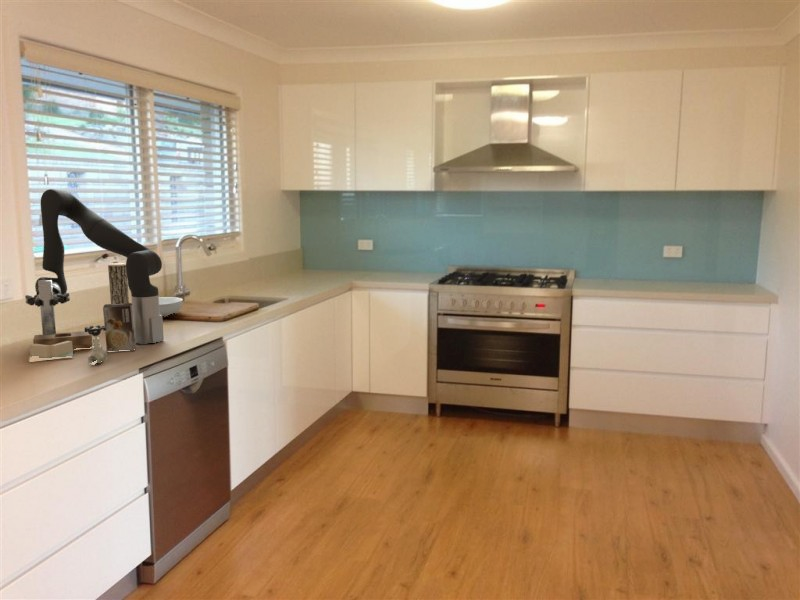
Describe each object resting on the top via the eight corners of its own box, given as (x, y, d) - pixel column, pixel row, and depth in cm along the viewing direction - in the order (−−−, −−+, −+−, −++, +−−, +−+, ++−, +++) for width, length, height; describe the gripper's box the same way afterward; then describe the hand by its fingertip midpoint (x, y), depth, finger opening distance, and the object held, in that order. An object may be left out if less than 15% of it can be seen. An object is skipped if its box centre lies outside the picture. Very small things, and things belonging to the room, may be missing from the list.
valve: (112, 360, 223) (109, 325, 221) (104, 366, 217) (101, 329, 215) (91, 361, 223) (88, 325, 221) (83, 366, 216) (80, 329, 214)
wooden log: (111, 326, 275) (106, 265, 270) (113, 323, 281) (109, 263, 277) (129, 325, 276) (125, 264, 272) (131, 322, 283) (127, 262, 278)
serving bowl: (191, 311, 306) (190, 296, 305) (171, 321, 285) (170, 305, 284) (147, 311, 308) (146, 296, 307) (124, 320, 287) (122, 304, 286)
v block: (31, 355, 230) (29, 342, 229) (73, 351, 235) (72, 338, 234) (28, 362, 221) (27, 349, 220) (73, 358, 226) (72, 345, 225)
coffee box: (136, 347, 242) (133, 302, 239) (134, 351, 235) (131, 305, 233) (108, 348, 239) (104, 303, 236) (106, 353, 233) (102, 307, 230)
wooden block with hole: (92, 344, 246) (91, 330, 245) (92, 349, 239) (91, 335, 238) (36, 349, 238) (34, 335, 238) (34, 354, 231) (33, 340, 230)
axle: (58, 333, 229) (54, 280, 226) (49, 335, 226) (44, 282, 222) (49, 332, 231) (44, 279, 227) (39, 334, 227) (35, 281, 224)
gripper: (25, 284, 235) (20, 293, 220) (70, 282, 241) (69, 290, 226) (26, 306, 237) (22, 315, 221) (72, 303, 243) (71, 312, 227)
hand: (46, 303), depth 224 cm, fingers closed on axle, 4 cm apart
